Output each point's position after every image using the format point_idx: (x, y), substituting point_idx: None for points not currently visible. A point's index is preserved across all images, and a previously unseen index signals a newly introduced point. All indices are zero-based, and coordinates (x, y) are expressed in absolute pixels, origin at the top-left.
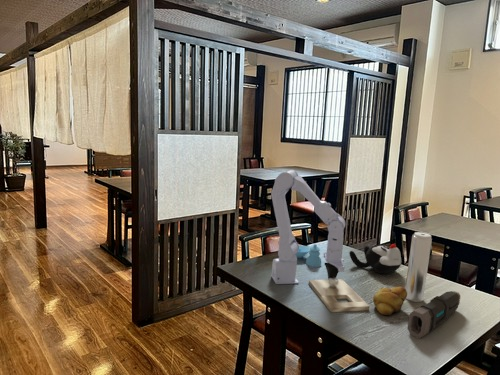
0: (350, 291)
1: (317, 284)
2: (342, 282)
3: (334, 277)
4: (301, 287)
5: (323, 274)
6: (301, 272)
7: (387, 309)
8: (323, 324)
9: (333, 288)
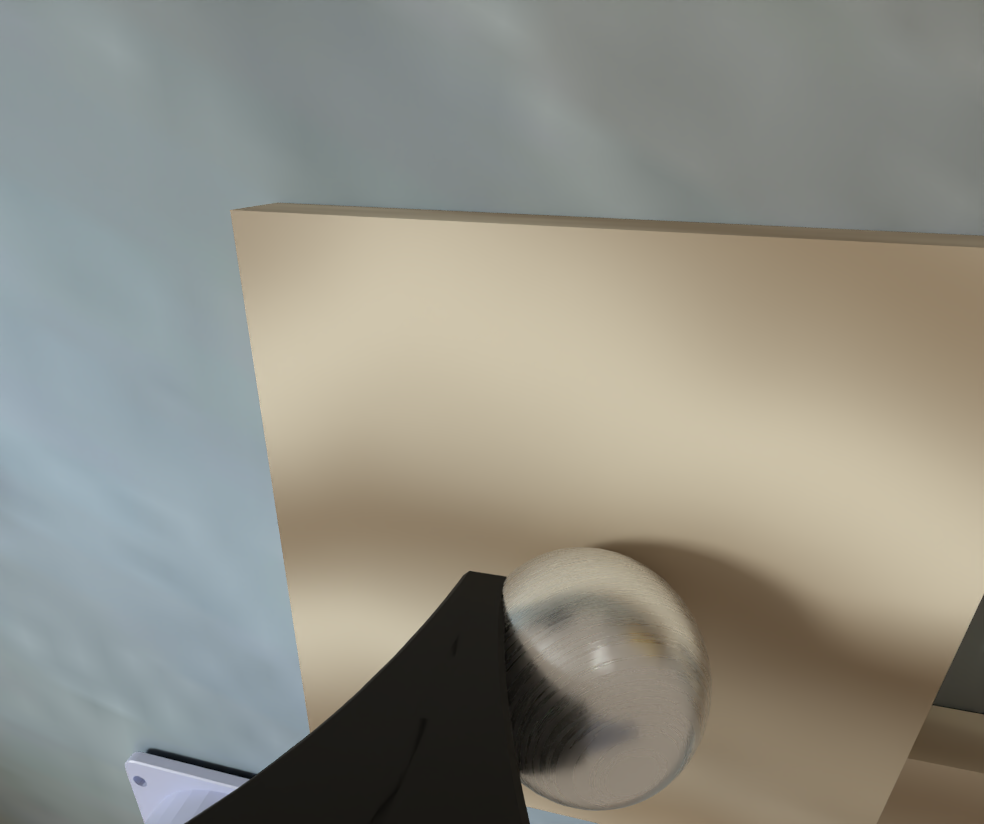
0: (902, 357)
1: None
2: (409, 296)
3: (584, 770)
4: None
5: (6, 374)
6: (26, 624)
7: None
8: None
9: None
